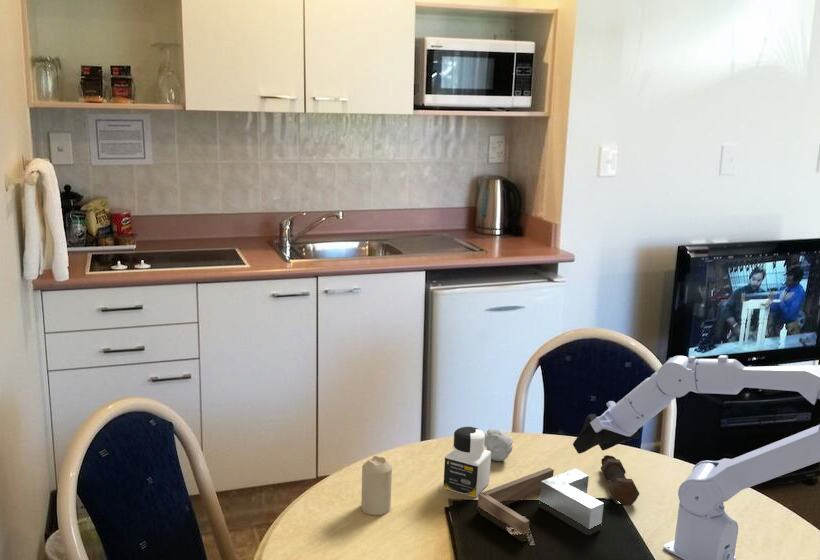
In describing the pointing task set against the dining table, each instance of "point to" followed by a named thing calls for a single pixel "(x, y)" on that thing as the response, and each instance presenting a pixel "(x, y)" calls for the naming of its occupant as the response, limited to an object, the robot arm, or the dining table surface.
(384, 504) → the candle
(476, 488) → the medicine bottle
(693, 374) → the robot arm
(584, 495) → the bracket
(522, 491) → the corner jig
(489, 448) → the grey rock
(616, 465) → the bolt
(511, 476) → the dining table surface
